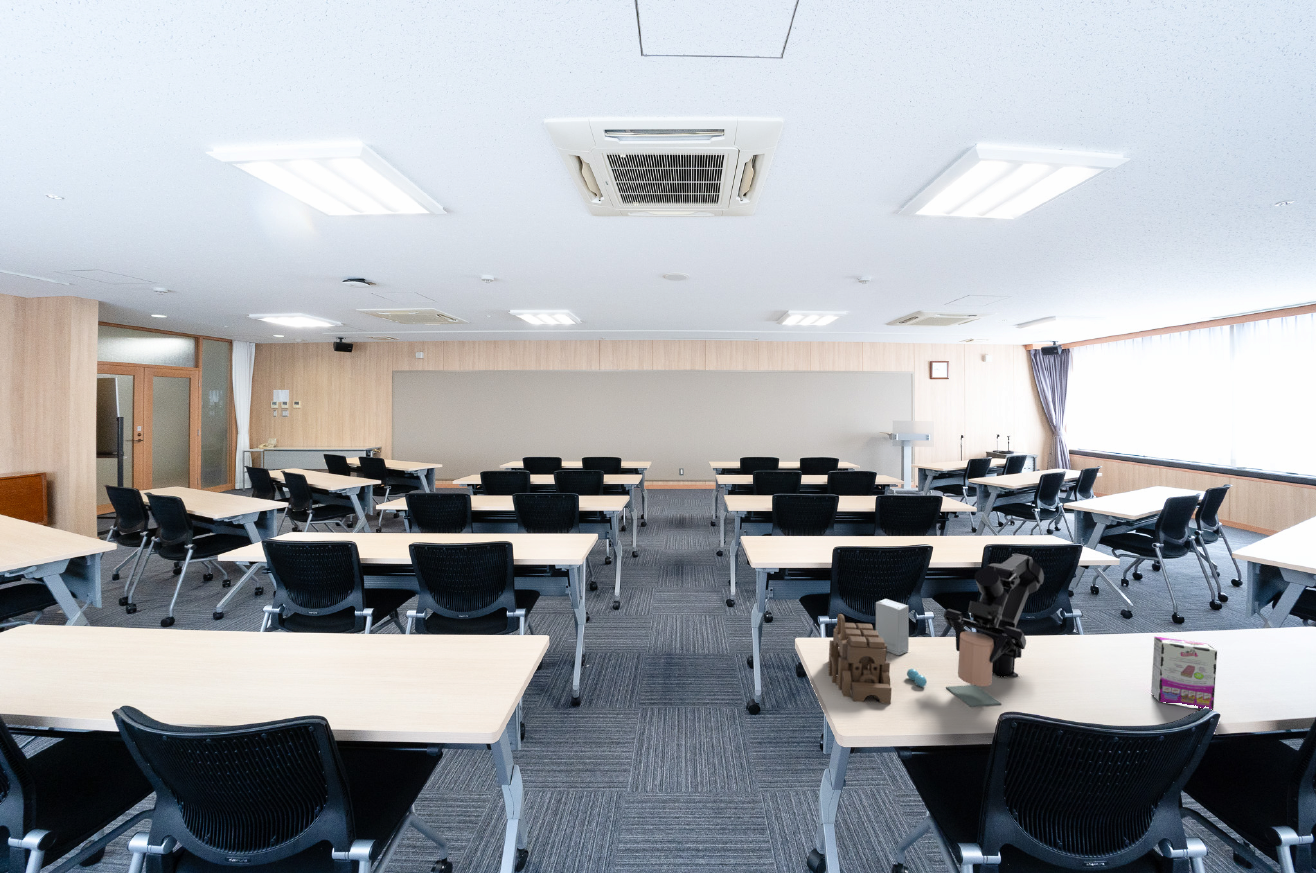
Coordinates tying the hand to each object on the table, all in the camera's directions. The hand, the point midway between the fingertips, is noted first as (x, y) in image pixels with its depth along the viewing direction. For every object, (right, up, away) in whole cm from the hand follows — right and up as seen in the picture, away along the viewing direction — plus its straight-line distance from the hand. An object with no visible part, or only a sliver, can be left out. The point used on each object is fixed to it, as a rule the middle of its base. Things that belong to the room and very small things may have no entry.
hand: (973, 656), depth 138 cm
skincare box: (-9, -10, +28) cm, 31 cm away
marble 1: (-12, -11, +9) cm, 18 cm away
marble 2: (-11, -11, +6) cm, 17 cm away
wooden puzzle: (-28, -11, +8) cm, 31 cm away
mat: (+1, -11, +2) cm, 11 cm away
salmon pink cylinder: (+1, -7, +1) cm, 7 cm away
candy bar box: (+55, -13, +1) cm, 57 cm away
